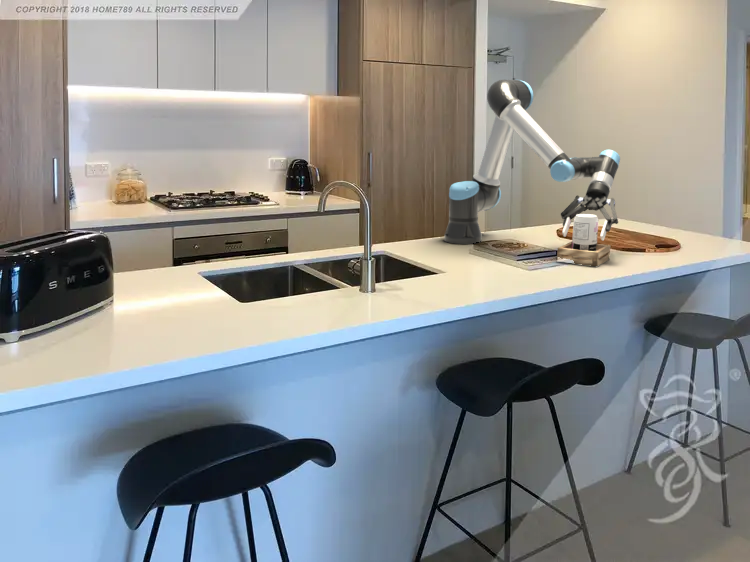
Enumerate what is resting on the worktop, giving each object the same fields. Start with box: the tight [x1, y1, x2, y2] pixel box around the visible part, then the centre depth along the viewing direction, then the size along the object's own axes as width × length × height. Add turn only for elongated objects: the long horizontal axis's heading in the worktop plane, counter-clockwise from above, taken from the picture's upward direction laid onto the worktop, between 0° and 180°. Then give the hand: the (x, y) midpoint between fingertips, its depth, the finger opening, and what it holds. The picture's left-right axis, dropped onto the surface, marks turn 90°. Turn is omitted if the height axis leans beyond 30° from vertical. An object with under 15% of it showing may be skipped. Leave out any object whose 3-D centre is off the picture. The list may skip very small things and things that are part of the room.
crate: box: [556, 241, 611, 267], centre depth 244 cm, size 14×14×5 cm
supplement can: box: [571, 213, 599, 260], centre depth 243 cm, size 8×8×15 cm
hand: (582, 236), depth 241 cm, fingers open, 13 cm apart
